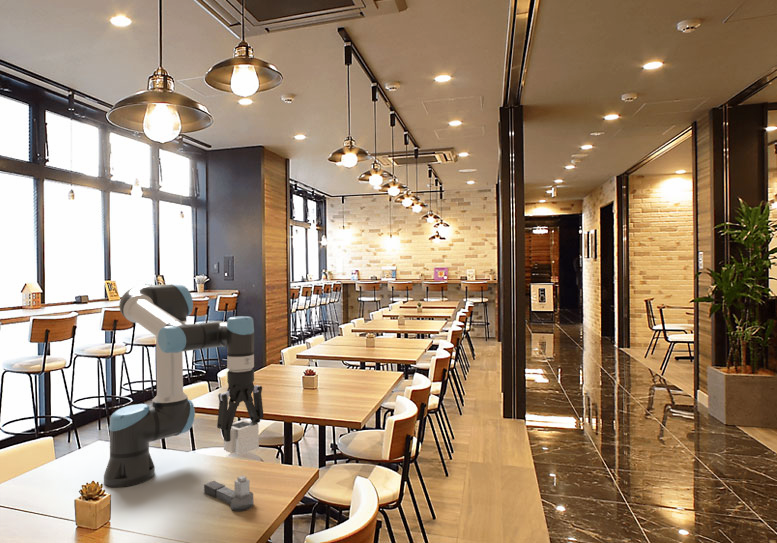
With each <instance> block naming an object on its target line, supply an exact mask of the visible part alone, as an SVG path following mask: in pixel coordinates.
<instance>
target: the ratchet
mask: <svg viewBox="0 0 777 543" xmlns="http://www.w3.org/2000/svg"><path fill="white" fill-rule="evenodd" d="M203 493H204V494H206V495H208V496H210V497H212V498H214V499H218V500H220V501H221V502H224V503H225V504H229V505H230V510H231V511H234V512H246V511H248V510H251V509H252V508H253V507H254V492H252V491H250V479H248V478H247V476H246V475H239V476H238V477H237V479H236V480H234V490H233V489H232V488H229V487H227V486H226V485H225V484H222V483H221V482H218V481H216V480H212V481H210V482H206V483H204V485H203Z"/></svg>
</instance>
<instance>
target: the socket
mask: <svg viewBox="0 0 777 543" xmlns="http://www.w3.org/2000/svg"><path fill="white" fill-rule="evenodd" d="M250 421H251V420H250ZM250 421H249V420H247V419H246V420H245V419H242V420H239V421H234V422H233V424H232V427H231V429H233V430H234V453H233V454H235V455H237V456H240V455H242V454H245V453H249V452H251V451H254V450H257V449H260V448H259V446H260V445H259V444H260V443H259V442H260V439H259V437H260V436H259V435H260V434H259V429H260V428H259V426H260V425H259V423H258V424H257V423H253V422H252V421H251V422H250ZM223 450H224V451H226V441H224V440H223Z"/></svg>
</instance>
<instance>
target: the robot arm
mask: <svg viewBox="0 0 777 543" xmlns="http://www.w3.org/2000/svg"><path fill="white" fill-rule="evenodd" d="M118 305H119V311H120V314H121V315H122V317H124V318H125V320H128V321H129V322H131V323H134V324H139V325H140V326H141V327H143V328H144V329H146V330H147V331H148V332H150V333H151V334H153V336H155V340H156V342H155V343H156V345H155V348H156V350H155V351H156V352H155V354H156V358H155V359H156V396H155V397H154V398H152V400H151V401H152V402H151V403H152V404H151V405H152V406H149V405H148V404H147V403H138V404H137V403H136V404H131V405H126V406H124V407H121V408H118V409H116V410H115V411H114V412H113V413H112V414H111V415H110V418H109V427H108V430H109V458H108V459H109V460H108V462H107V466H106V468H105V471H104V475H103V484H104V485H105V486H108V487H112V488H122V487H129V486H130V487H131V486H135V485H138V484H142V483H144V482H146V481H148V480H150V479H151V478H153V477H154V476H155V474H156V473H155V472H156V471H155V470H156V469H155V468H156V467H155V464H154V461H153V459H152V456H151V454H150V443H151V442H156V441H159V440H163V439H166V438H170V437H177V436H179V435H181V434H185V433H187V432H189V431H190V429H191V428H192V427H193V425H194V421H195V417H196V413H195V412H196V411H195V409H196V408H195V407H194V406H195V404H194V403H193V401H192V400H191V399H188V398H189V396H188V394H186V393H185V392H184V378H183V377H184V374H183V373H184V369H183V368H184V367H183V365H184V364H183V363H184V362H183V361H184V360H183V359H184V358H183V357H184V356H183V352H189V351H196V350H197V351H198V350H204V349H213V348H220V347H224V348H227V350H226V351H227V354H226V355H227V359H226V360H227V361H226V365H227V366H226V369H227V370H228V371H227V373H226V374H227V376H226V377H227V378H226V380H227V386H228V388H227V390H226V391H224V392H223V393H221V392H219V393H218V394H217V396H218V401H219V404H218V414H217V423H216V428H217V429H220V430H223V442H224V441H226V450H225V452H227V453H230V454H234V430H233V429H231V427H232V424H233V423H234V420H235V416H236V413H237V410H238V407H239V406H240V404H241V403H242V402H244V405H245V408H246V410H247V413H248V416H249V419H250V422H253V423H257V424H258V425H259V423H260V422H261V419H264V409H263V408H264V407H263V396H262V391H263V386H262V385H258V384H256V385H255V384H254V381H255V369H253V368H254V367H255V353H254V351H255V328H254V327H255V326H254V325H255V324H254V318H253V317H252V316H243V315H242V316H241V315H240V316H229V317H228V318H227V321H224V320H215V321H214V320H213V321H210V322H205V323H191V324H186V323H187V317H189V316H190V315H191V314H192V313H193V310H194V301H193V297H192V294H191V292H190V290H189V289H188V288H187V287H186V286H184V285H182V284H155V285H154V284H150V285H149V284H148V285H147V284H145V285H144V284H143V285H137V286H134V287H132V288H130V289H129V290H127V291H126V292H125V293H124V294H123V295H122V296H121V298H120V301H119V303H118Z"/></svg>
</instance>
